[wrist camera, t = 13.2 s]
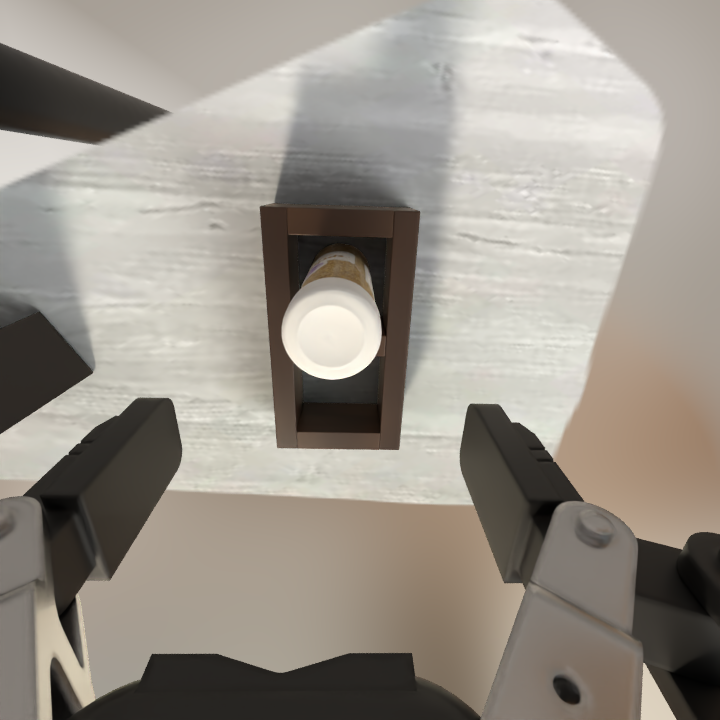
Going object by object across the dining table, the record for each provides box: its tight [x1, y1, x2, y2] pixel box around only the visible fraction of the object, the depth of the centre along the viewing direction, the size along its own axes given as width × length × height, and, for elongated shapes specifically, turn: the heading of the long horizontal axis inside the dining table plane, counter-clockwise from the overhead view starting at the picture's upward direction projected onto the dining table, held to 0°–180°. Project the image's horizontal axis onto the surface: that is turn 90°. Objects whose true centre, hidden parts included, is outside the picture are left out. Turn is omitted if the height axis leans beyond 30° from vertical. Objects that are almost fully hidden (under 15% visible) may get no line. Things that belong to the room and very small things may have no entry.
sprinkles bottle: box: [282, 243, 382, 379], centre depth 23 cm, size 5×5×13 cm
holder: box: [260, 203, 420, 450], centre depth 29 cm, size 10×18×4 cm, turn 178°
